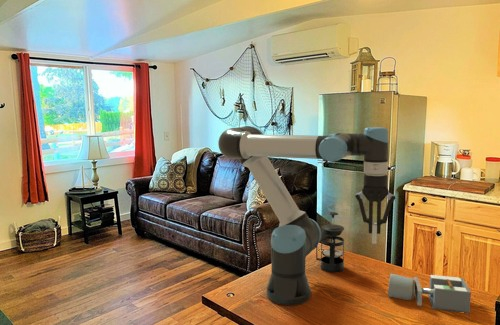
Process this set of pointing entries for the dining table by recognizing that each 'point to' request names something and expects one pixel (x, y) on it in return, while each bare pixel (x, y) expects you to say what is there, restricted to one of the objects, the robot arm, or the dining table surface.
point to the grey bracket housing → (449, 294)
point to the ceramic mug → (401, 287)
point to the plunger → (424, 290)
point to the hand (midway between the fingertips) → (374, 242)
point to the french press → (332, 248)
